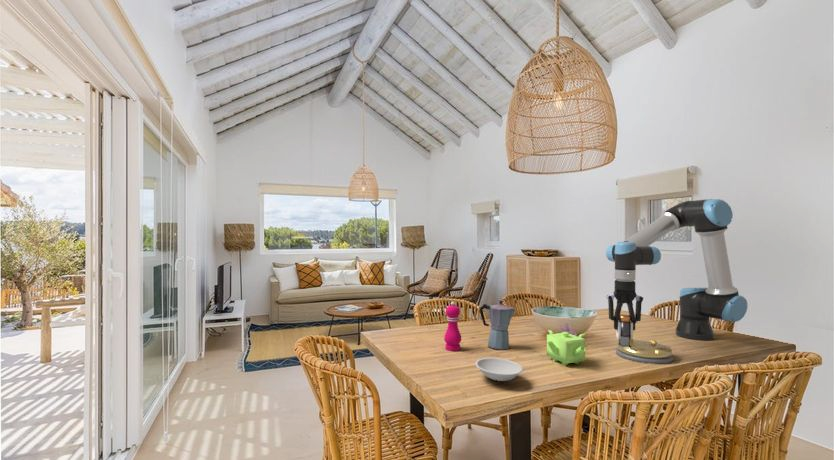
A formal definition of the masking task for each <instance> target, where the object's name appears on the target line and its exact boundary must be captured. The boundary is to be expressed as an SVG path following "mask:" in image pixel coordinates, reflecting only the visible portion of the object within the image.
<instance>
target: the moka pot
mask: <svg viewBox="0 0 834 460" xmlns="http://www.w3.org/2000/svg"><path fill="white" fill-rule="evenodd" d="M498 302H499V304H498V303H497V304H485V303H484V304H482V306H481V307H479V314H480V317H481V319H482V324H483V326H486V327H490V332H489V337H488V340H487V341H488V342H487V346H488V347H489V348H490V349H494V350H501V351H502V350H503V351H505V350H508V349H509V348H510V339H509V337H510V336H509V326H510V325H511V320H512V317H513V315H514V314H515V312H516V311H517V309H516V308H515V307H512V306H509V305H505V304H503V303H504V301H503V300H499V301H498ZM484 309H486V310H489V317H490V318H489V319H490V324H489V323H487V322H486V320H485V314H484Z"/></svg>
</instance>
